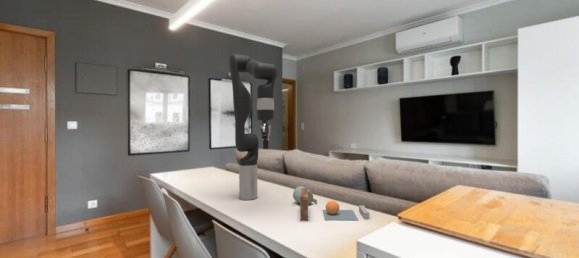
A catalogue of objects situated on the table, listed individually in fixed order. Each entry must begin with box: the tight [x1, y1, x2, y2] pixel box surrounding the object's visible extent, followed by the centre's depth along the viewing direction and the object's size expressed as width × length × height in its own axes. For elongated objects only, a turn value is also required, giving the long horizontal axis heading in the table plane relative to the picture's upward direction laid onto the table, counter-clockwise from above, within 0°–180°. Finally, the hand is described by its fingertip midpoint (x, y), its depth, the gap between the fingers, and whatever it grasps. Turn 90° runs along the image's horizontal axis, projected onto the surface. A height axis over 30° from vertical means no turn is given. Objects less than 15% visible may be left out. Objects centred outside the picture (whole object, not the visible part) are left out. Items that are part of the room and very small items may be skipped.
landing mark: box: [322, 209, 359, 221], centre depth 114 cm, size 13×13×1 cm
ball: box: [325, 200, 340, 214], centre depth 115 cm, size 6×6×6 cm
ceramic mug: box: [292, 185, 318, 206], centre depth 131 cm, size 11×8×8 cm
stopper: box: [358, 205, 370, 220], centre depth 113 cm, size 2×10×2 cm, turn 177°
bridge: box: [299, 187, 309, 222], centre depth 114 cm, size 3×15×9 cm, turn 177°
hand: (265, 148), depth 121 cm, fingers closed
